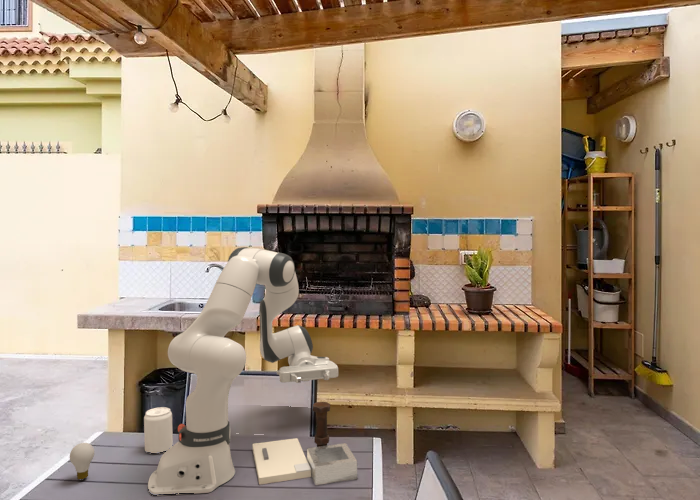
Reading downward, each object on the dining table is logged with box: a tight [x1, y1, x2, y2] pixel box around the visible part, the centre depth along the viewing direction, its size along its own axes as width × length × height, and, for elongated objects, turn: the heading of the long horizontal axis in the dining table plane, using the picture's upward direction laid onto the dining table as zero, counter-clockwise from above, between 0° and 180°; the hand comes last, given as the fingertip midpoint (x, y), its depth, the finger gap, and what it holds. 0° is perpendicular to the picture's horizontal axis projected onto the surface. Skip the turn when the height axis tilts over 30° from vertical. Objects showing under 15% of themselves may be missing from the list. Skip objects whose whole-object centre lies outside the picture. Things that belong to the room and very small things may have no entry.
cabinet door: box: [252, 437, 312, 486], centre depth 140 cm, size 14×22×3 cm, turn 16°
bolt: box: [312, 401, 331, 447], centre depth 145 cm, size 6×5×15 cm
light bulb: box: [69, 442, 95, 480], centre depth 131 cm, size 6×6×10 cm
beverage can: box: [143, 406, 174, 454], centre depth 149 cm, size 8×8×12 cm
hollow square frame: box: [306, 442, 358, 486], centre depth 133 cm, size 12×12×5 cm
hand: (312, 379), depth 157 cm, fingers open, 8 cm apart
